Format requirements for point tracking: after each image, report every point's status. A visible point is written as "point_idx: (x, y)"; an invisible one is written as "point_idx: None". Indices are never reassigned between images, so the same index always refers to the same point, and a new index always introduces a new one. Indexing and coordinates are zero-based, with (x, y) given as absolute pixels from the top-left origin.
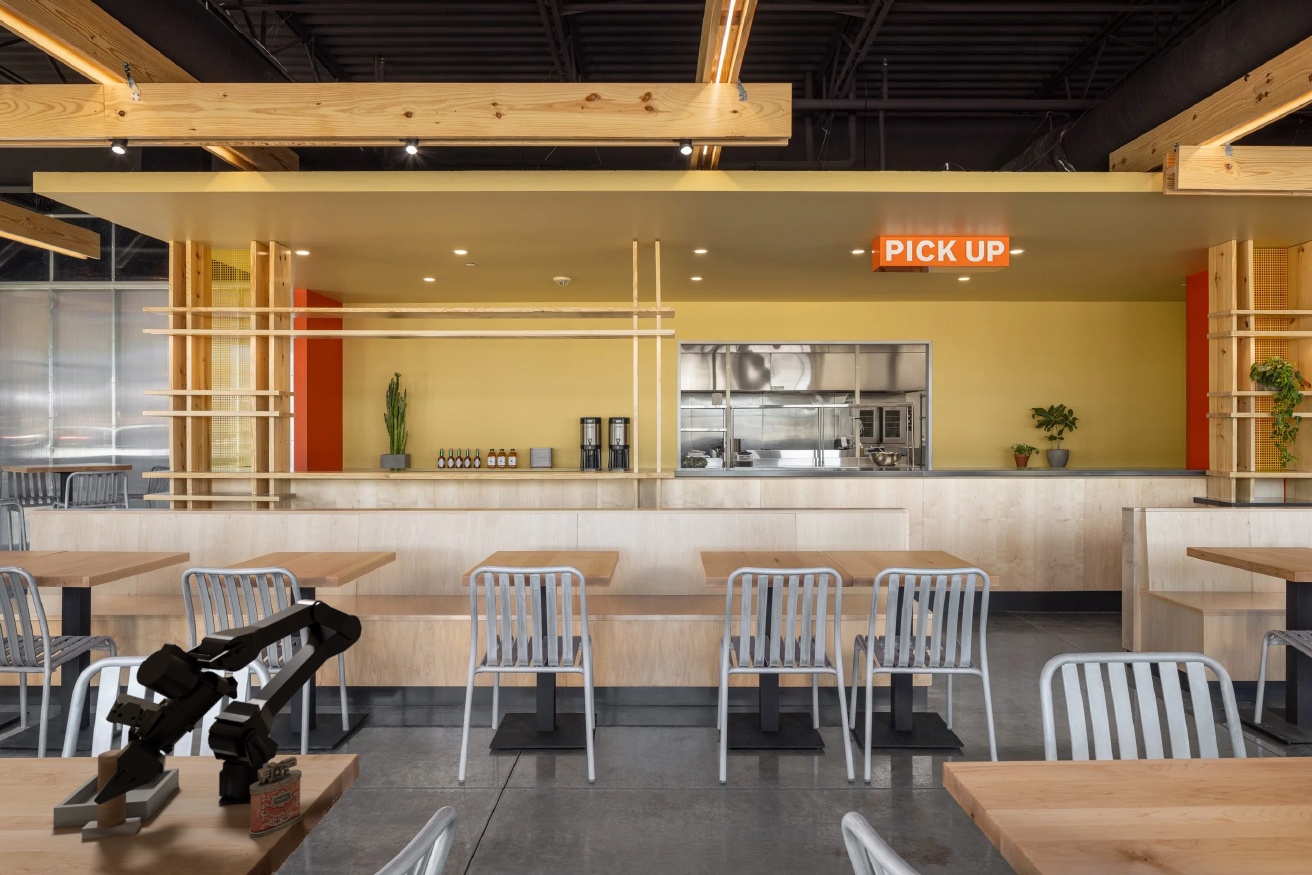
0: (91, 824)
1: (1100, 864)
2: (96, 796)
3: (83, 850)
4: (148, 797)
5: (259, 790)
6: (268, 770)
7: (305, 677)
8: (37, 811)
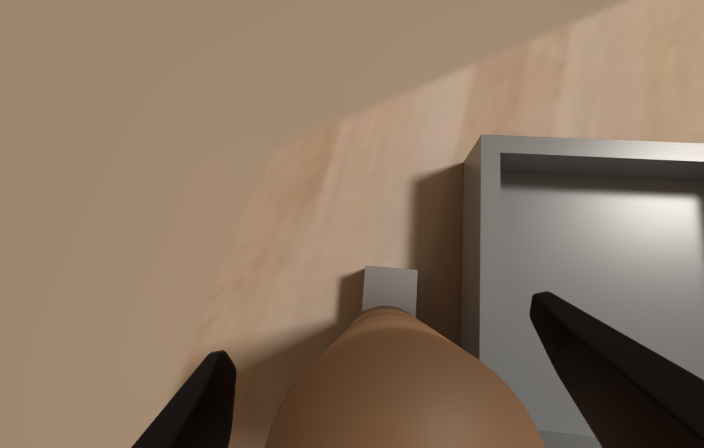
0: (391, 284)
1: None
2: (209, 365)
3: (286, 301)
4: None
5: None
6: None
7: None
8: (591, 74)
